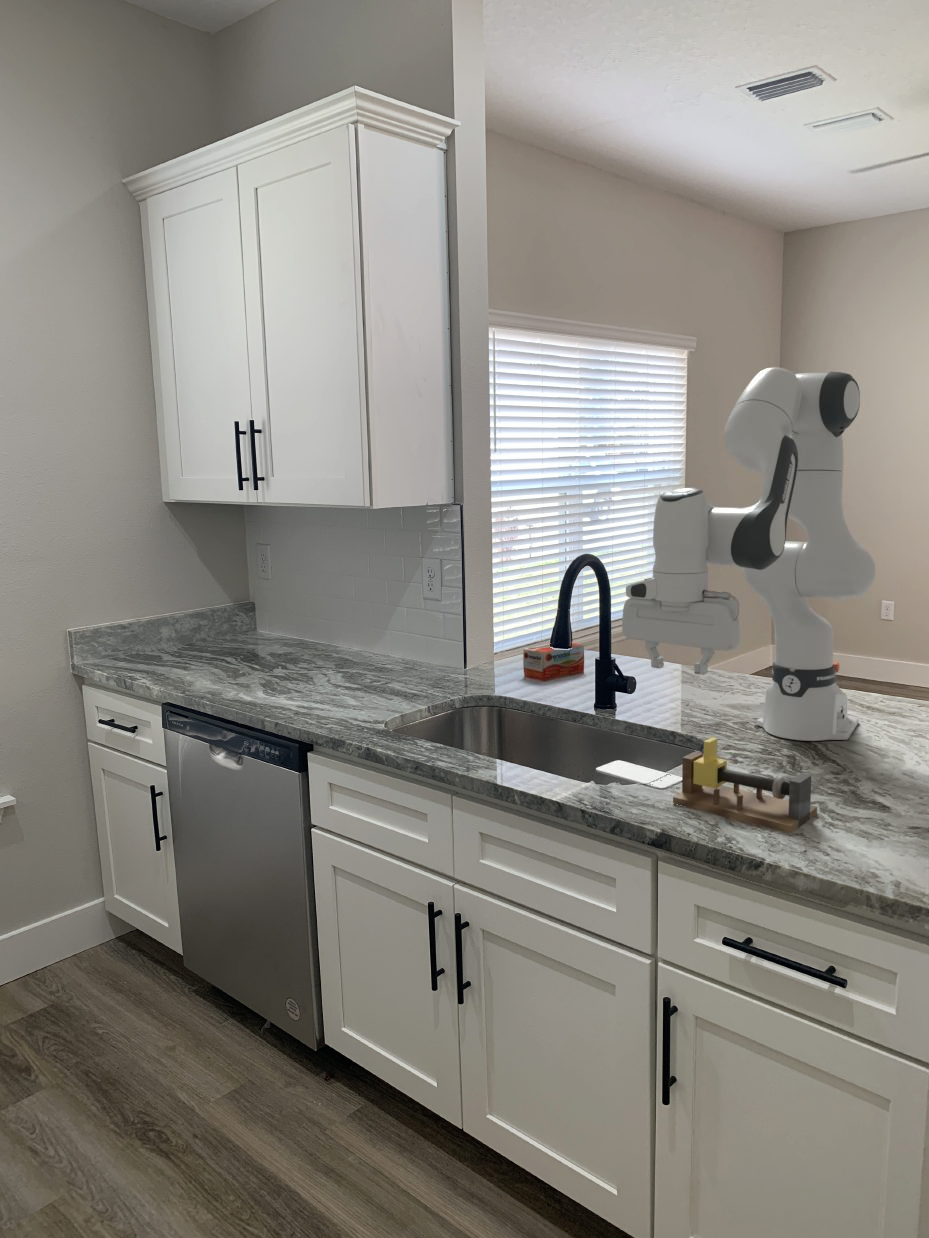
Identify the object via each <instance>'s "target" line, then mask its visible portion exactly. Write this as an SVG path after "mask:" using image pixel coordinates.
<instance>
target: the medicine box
mask: <svg viewBox="0 0 929 1238" xmlns="http://www.w3.org/2000/svg"><path fill="white" fill-rule="evenodd" d="M571 643H572V649H570V650H554V649H552V648H550V644H551V643H546V644H542V645H540V644H539V645H536V646H532V647H526V648H525V647H524V648H523V655H522V656H523V657H522V658H523V660H522V663H523V675H524V677H523V678H526V679H527V678H528V679H532V680H537V681H540V682H548V681H554V680H557V679H562V678H567V677H571V676H575V675H580V674H584V673H585V648H584V644H580V643H575V642H571Z"/></svg>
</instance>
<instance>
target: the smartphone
mask: <svg viewBox="0 0 929 1238" xmlns="http://www.w3.org/2000/svg"><path fill="white" fill-rule="evenodd" d="M595 772H597V773H599V774H603V775H607V776H611V777H614V778H616V779H617V778H618V779H621V780H625V781H629V782H631V783H635V784H638V785H642V784H645V783H649V782H651V781H653V780H656V779H658V778H660V777H662V776H664V775H666V774H670V775H671V776H670V775H667V776H666V777H663V778H661V779H659V780H658V781H655V782H651V783H650V784H651V787H650V788H653V787H656V788H661V789H660V790H663V789H662V788H666V787H668V788H670V787H669V786H671V785H673V784H674V785H677V784H676V783H678V784H680V783H682V782H681V781H682V776H679V775H675V774H672V773H669V772H664V771H661V770H657V769H653V768H649V767H646V766H642V765H638V764H634V763H632V762H628V761H626V760H625V761H623V760H619V759H618V760H614V761H610V762H609V763H606V764H605V763H604V764H603V765H601V766H598V767H596V768H595ZM660 780H662V781H660ZM679 782H680V783H679ZM652 784H653V785H652ZM648 785H649V784H648ZM674 785H673V786H674ZM671 787H672V786H671ZM656 788H655V789H656ZM666 789H667V788H666Z"/></svg>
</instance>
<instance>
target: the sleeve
mask: <svg viewBox="0 0 929 1238" xmlns="http://www.w3.org/2000/svg"><path fill="white" fill-rule="evenodd" d="M727 765H728V760H727V759H724V758H718V738H717V737H710V738H708V739H706V740H704V741H703V757H701V758H699V759H698V760H696V761H694V775H693V784H698V785H702V786H706V787H711V788H715V789H716V788H718V787H719V786H721V785H723V786H724V785H725V784H726V783H727V782H725V781H721V780H717V779H718V768H723V769H727V768H728V767H727Z"/></svg>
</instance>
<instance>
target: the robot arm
mask: <svg viewBox="0 0 929 1238" xmlns="http://www.w3.org/2000/svg"><path fill="white" fill-rule="evenodd" d="M860 405H861V392H860V387H859V384H858V382H857V380H855V378H854V376H853V375H851V374H850V373H847V372H842V371H830V372H803V373H802V372H801V373H800V372H799V373H793V372H792V371H791V370H788V369H787V368H782V367H779V366H778V367H777V366H775V367H774V366H773V367H767V368H764V369H762V370H760V371H759V372H758V373H756V374H755V376H753V378H752V379H751V381H750V382H748V384H747V385H746V387H745V388H744V390H743V391H742V393H741V394H740V396H739V398H738V399H737V401H736V402H735V405H734V406H733V409H732V410H731V413H730V415H729V417H728V418H727V421H726V423H725V425H724V432H723V441H724V445H725V448H726V450H727V452H728V454H729V455H730V456H731V457H732V459H734V460H735V461H736V462H737V463H739V464H740V465H741V466H743V467H744V468H747V469H748V470H751V471H755V472H758V473H760V474H763V475H764V478H763V483H762V486H761V491H760V495H759V500H758V502H756V503H755V504H753V505H749V506H746V507H720V506H714V505H713V504H711V503H709V502H708V501H707V497H706V492H705V490H703V489H700V488H697V487H680V488H675V489H674V488H673V489H669V490H666V491H664V492H663V493H661V494H660V495H659V496H658V498H657V502H656V505H655V510H654V517H653V519H654V520H653V533H652V535H653V536H652V537H653V538H652V546H653V548H654V553H655V558H654V563H653V566H652V577H649V578H646V579H645V578H644V580H641V581H640V580H639V581H637V582H634V583H631V584H628V585H627V586H626V587H625V595H626V596H627V599H626V600H625V602H624V605H623V608H622V609H623V610H622V621H621V627H622V633H623V635H624V637H625V638H626V639H627V640H628V639H629V640H635V641H643V642H645V643H644V649H645V650H646V652H647V653H648V655H649V657H650V663H651V664H650V667H651V668H652V669H653V668H654V669H662V668H664V666H665V662H664V661H665V657H664V656H660V654H659V653H660V652H659V650H658V648H657V647H659V645H660V644H665V645H667V644H668V645H675V646H685V647H690V648H691V647H692V648H700V655H703V656H702V658H701V659H700V661H698V662H696V663H694V667H693V668H694V670H693V671H694V672H693V673H694V674H696V675H701V676H704V675H707V673H708V668H709V667H708V666H709V665H708V664H709V663H710V661H711V659H712V658H713V656H714V655H715V650H716V651H722V652H723V651H725V652H728V651H731V650H734V649H736V648H737V647H738V646H739V644H740V643H741V632H740V631H741V629H740V628H741V627H740V621H739V614H740V601H739V599H737V598H736V596H734V595H733V594H732V593H731V592H727V591H722V592H721V591H716V590H708V589H709V588H708V586H709V585H708V583H709V580H708V578H709V567H708V565H709V564H710V565H714V566H715V565H717V566H734V567H740V568H742V573H743V578H744V580H745V582H746V583H747V585H748V586H749V587H750V588H751V589H752V590H753V591H754V592H755V593H756V594H757V595H758V596H759V597H760V598H761V599H762V601H763V602H764V604H765V605H766V607H767V609H768V611H769V614H770V615H771V620H772V623H773V628H774V650H775V651H774V652H775V653H774V656H775V657H774V662H773V663H772V668H771V674H772V675H771V676H772V677H771V679H772V680H771V681H772V683H771V684H769V685H768V686H767V687H766V689H765V697H764V704H763V716H762V717H760V718H758V719H756V721H757V722H756V724H757V726H759V727H761V728H763V729H764V731H765V732H767V734H770V735H772V736H775V737H778V738H783V739H788V740H796V741H809V742H810V741H811V742H812V741H813V742H815V741H817V742H818V741H829V740H837V741H839V740H840V741H841V740H842V741H843V740H844V741H845V740H848V739H849V738H850V737H851V735H852V734H853V732H854V730H856V727H857V726H858V724H859V717H857V716H854V715H851V714H849V713H848V697H847V694H846V693H844V691H842V689H841V688H840V687H839V685H838V684H837V683H836V682H837V673H839V671H840V666H841V665H840V663H839V662H834V640H835V638H834V637H835V632H834V628H833V626H832V624H830V622H829V621H828V620H827V619H826V618H825V617H822V616H821V615H819V614H818V613H816V612H815V611H814V609H812V607H811V605H810V603H809V600H808V598H817V599H829V600H842V599H845V600H846V599H853V598H860V597H862V596H864V595H865V594H867V592H868V591H869V589H870V588H871V586H872V585H873V583H874V580H875V577H876V565H875V561H874V558H873V557H872V555H871V553H870V552H869V551H868V550H867V549H866V548H865V547H864V546H862V545H861V544H860V543H859V542H858V541H857V540H856V538H854V536H853V535H852V533H851V531H850V530H849V528H848V526H847V523H846V520H845V517H844V513H843V511H844V509H843V476H844V475H843V474H844V443H843V440H844V439H843V433H844V432H845V430H846V429H847V428H849V427H850V426H851V425H852V423H853V422H854V421H855V420H856V417H857V416H858V414H859V410H860ZM788 519H790V520H792V521H794V522H795V523H797V524H799V525H800V526H802V527H803V530H804V531H805V534H806V537H807V538H806V539H807V541H789V540H787V541H786V538H787V526H788V525H787V524H788Z"/></svg>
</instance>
